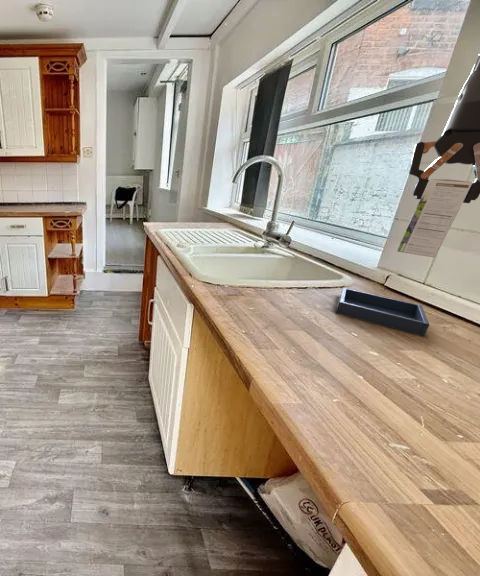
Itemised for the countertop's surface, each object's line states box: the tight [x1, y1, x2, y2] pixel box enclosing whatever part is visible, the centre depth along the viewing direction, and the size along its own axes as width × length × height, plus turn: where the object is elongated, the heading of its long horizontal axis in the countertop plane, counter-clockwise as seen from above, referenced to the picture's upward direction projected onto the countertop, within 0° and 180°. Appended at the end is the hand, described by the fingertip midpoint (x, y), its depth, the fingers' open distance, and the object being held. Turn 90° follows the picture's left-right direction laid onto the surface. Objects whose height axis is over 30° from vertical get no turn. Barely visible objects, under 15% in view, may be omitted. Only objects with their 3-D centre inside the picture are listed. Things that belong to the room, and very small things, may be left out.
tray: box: [335, 287, 430, 337], centre depth 75 cm, size 16×14×3 cm
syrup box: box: [396, 178, 473, 258], centre depth 61 cm, size 6×6×14 cm
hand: (440, 200), depth 60 cm, fingers closed on syrup box, 6 cm apart
